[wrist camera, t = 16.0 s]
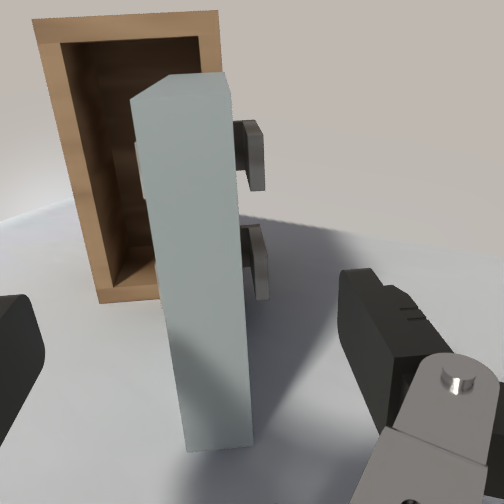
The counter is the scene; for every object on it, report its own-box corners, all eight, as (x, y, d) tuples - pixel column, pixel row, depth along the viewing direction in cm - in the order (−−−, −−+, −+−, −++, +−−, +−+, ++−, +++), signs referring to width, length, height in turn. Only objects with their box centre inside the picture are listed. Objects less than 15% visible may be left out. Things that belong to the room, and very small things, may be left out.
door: (197, 306, 30) (169, 74, 24) (240, 303, 30) (224, 71, 24) (186, 452, 19) (129, 99, 13) (253, 446, 19) (230, 93, 13)
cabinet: (120, 254, 38) (74, 25, 30) (253, 244, 39) (241, 16, 31) (82, 342, 27) (-7, 13, 19) (270, 325, 28) (258, 0, 20)
